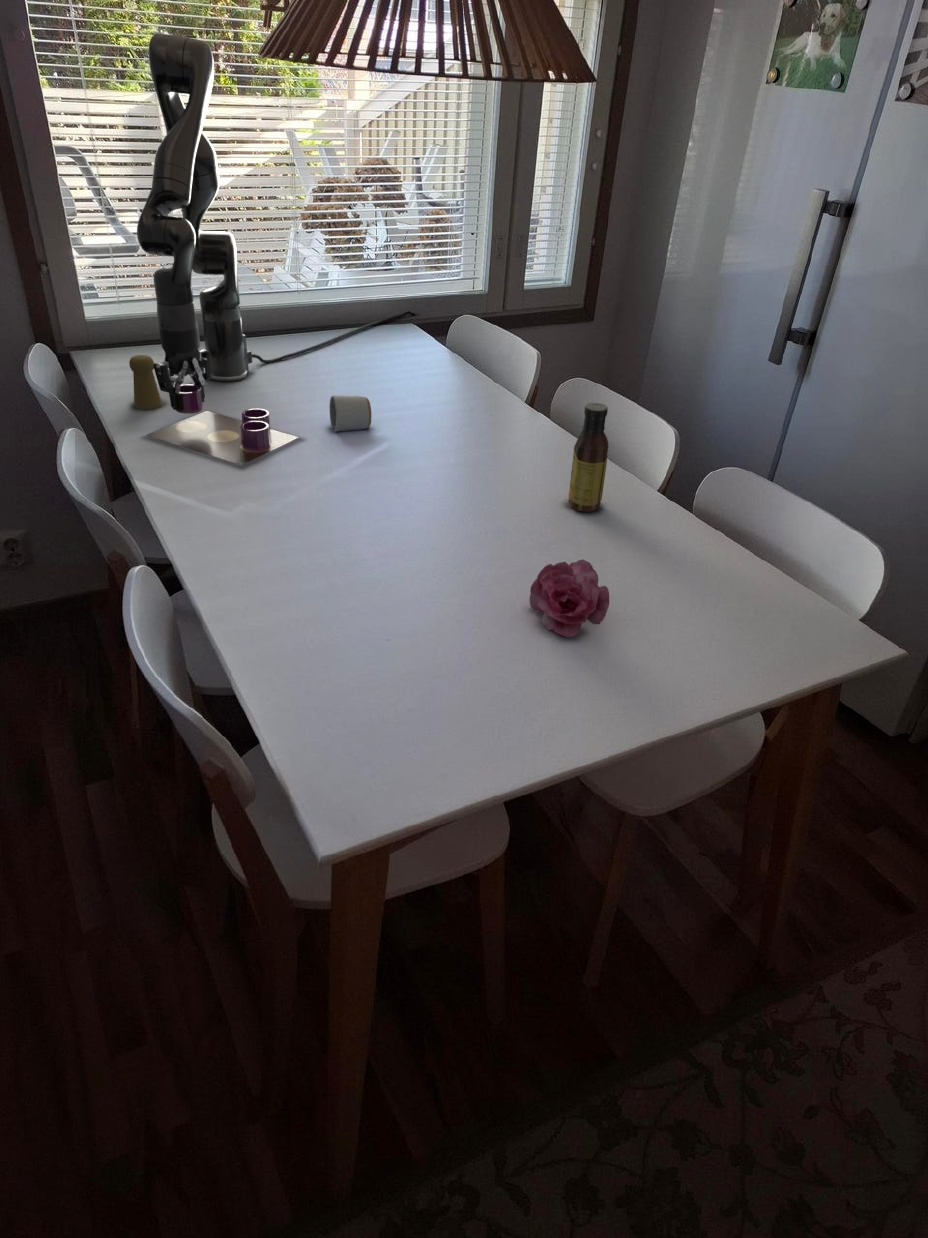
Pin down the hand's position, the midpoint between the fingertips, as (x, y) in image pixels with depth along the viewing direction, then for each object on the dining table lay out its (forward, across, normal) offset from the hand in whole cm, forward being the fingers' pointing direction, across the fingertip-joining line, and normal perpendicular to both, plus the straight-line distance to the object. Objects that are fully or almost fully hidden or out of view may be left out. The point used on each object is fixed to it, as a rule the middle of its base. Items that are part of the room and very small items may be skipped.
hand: (188, 405), depth 181 cm
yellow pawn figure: (+5, +5, +18) cm, 20 cm away
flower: (+6, -23, -98) cm, 101 cm away
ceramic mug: (+6, +21, -26) cm, 34 cm away
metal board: (+5, 0, -9) cm, 10 cm away
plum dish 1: (+1, 0, 0) cm, 1 cm away
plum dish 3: (+5, 0, -18) cm, 18 cm away
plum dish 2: (+5, +6, -13) cm, 15 cm away
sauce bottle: (+6, +15, -85) cm, 86 cm away
